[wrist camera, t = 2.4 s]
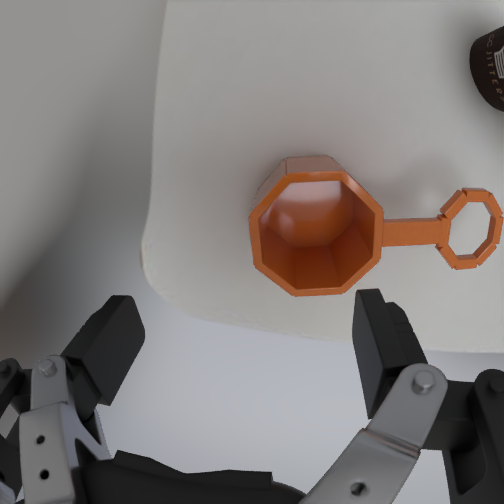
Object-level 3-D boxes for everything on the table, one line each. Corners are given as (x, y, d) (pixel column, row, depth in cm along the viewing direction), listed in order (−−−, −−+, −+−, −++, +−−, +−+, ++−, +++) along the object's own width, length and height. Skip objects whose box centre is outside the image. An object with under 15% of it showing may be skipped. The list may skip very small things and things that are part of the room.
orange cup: (264, 253, 23) (257, 298, 17) (254, 159, 20) (243, 176, 14) (454, 243, 21) (490, 280, 15) (462, 157, 18) (509, 176, 12)
